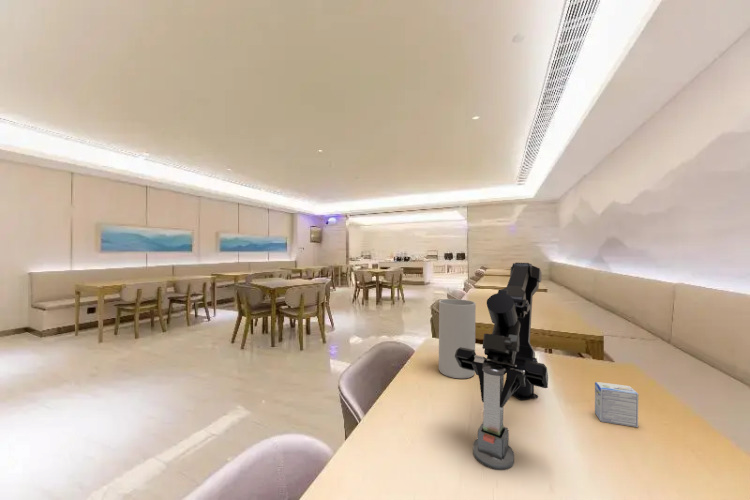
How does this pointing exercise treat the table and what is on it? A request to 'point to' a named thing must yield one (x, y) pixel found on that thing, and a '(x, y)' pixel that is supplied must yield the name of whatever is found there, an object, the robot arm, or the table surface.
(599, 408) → the medicine box
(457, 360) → the robot arm
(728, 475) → the table surface
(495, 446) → the stand
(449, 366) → the cylinder vase
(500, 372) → the column
